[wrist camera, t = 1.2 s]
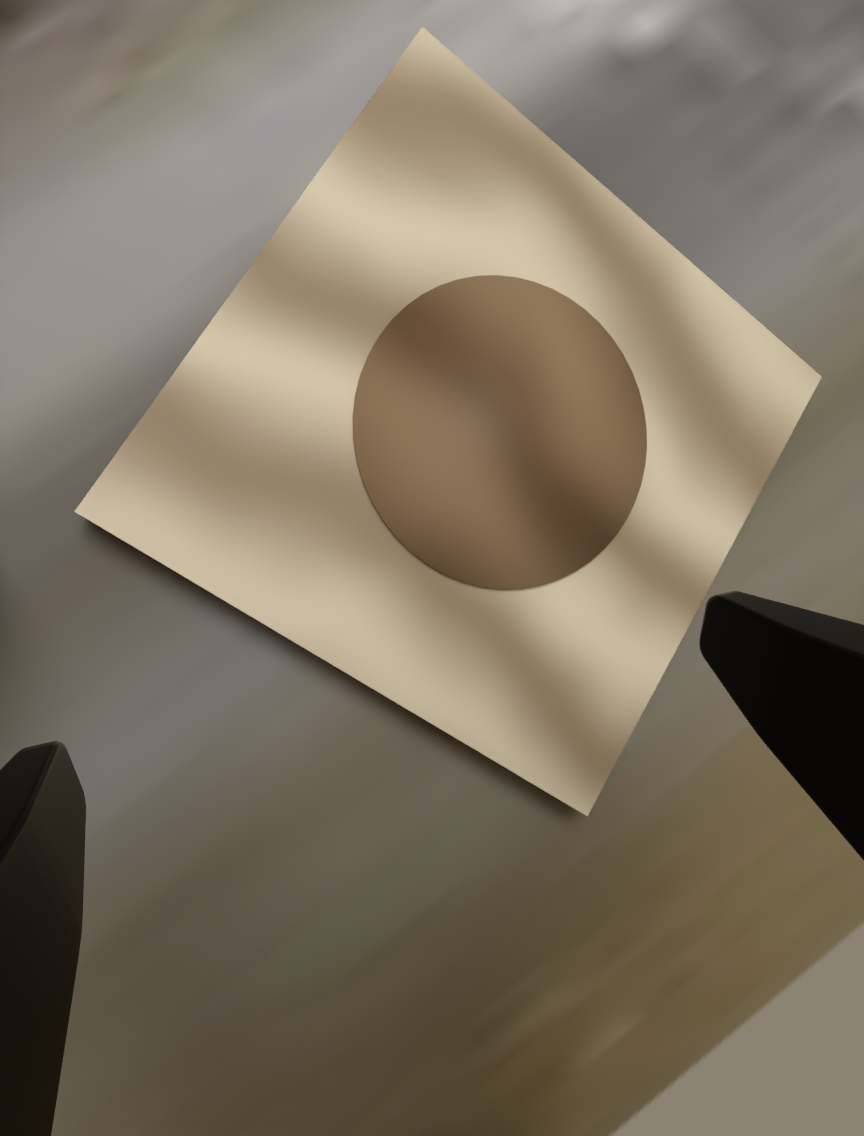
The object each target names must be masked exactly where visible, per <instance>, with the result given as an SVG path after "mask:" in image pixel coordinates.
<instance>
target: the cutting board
mask: <svg viewBox="0 0 864 1136" xmlns="http://www.w3.org/2000/svg"><path fill="white" fill-rule="evenodd" d="M820 379H821V376H820V375H819V374H818V373H817V372H816V371H814V370H813V369H812V368H811V367H810V366H809V365H808V364H806V363H805V362H804V361H803V360H802V359H801V358H800V357H798V356H797V355H796V354H795V353H794V352H793V351H792V350H790V349H789V348H788V347H787V346H786V345H785V344H784V343H782V342H781V341H780V340H779V339H778V338H777V337H776V336H775V335H773V334H772V333H771V332H770V331H769V330H768V329H767V328H765V327H764V326H763V325H762V324H761V323H760V322H759V321H757V320H756V319H755V318H754V317H753V316H752V315H751V314H749V313H748V312H747V311H746V310H745V309H744V308H743V307H741V306H740V305H739V304H738V303H737V302H736V301H735V300H733V299H732V298H731V297H730V296H729V295H728V294H727V293H725V292H724V291H723V290H722V289H721V288H720V287H719V286H717V285H716V284H715V283H714V282H713V281H712V280H711V279H709V278H708V277H707V276H706V275H705V274H704V273H703V272H701V271H700V270H699V269H698V268H697V267H696V266H695V265H694V264H692V263H691V262H690V261H689V260H688V259H687V258H686V257H684V256H683V255H682V254H681V253H680V252H679V251H678V250H676V249H675V248H674V247H673V246H672V245H671V244H670V243H668V242H667V241H666V240H665V239H664V238H663V237H662V236H660V235H659V234H658V233H657V232H656V231H655V230H654V229H652V228H651V227H650V226H649V225H648V224H647V223H646V222H644V221H643V220H642V219H641V218H640V217H639V216H638V215H636V214H635V213H634V212H633V211H632V210H631V209H630V208H628V207H627V206H626V205H625V204H624V203H623V202H622V201H620V200H619V199H618V198H617V197H616V196H615V195H614V194H613V193H611V192H610V191H609V190H608V189H607V188H606V187H605V186H603V185H602V184H601V183H600V182H599V181H598V180H597V179H595V178H594V177H593V176H592V175H591V174H590V173H589V172H587V171H586V170H585V169H584V168H583V167H582V166H581V165H579V164H578V163H577V162H576V161H575V160H574V159H573V158H571V157H570V156H569V155H568V154H567V153H566V152H565V151H563V150H562V149H561V148H560V147H559V146H558V145H557V144H555V143H554V142H553V141H552V140H551V139H550V138H549V137H547V136H546V135H545V134H544V133H543V132H542V131H541V130H539V129H538V128H537V127H536V126H535V125H534V124H533V123H532V122H530V121H529V120H528V119H527V118H526V117H525V116H524V115H522V114H521V113H520V112H519V111H518V110H517V109H516V108H514V107H513V106H512V105H511V104H510V103H509V102H508V101H506V100H505V99H504V98H503V97H502V96H501V95H500V94H498V93H497V92H496V91H495V90H494V89H493V88H492V87H490V86H489V85H488V84H487V83H486V82H485V81H484V80H482V79H481V78H480V77H479V76H478V75H477V74H476V73H474V72H473V71H472V70H471V69H470V68H469V67H468V66H466V65H465V64H464V63H463V62H462V61H461V60H460V59H458V58H457V57H456V56H455V55H454V54H453V53H452V52H451V51H449V50H448V49H447V48H446V47H445V46H444V45H443V44H441V43H440V42H439V41H438V40H437V39H436V38H435V37H433V36H432V35H431V34H430V33H429V32H428V31H427V30H425V29H424V28H423V27H422V28H421V29H420V31H419V32H418V33H417V35H416V36H415V38H414V39H413V40H412V42H411V43H410V45H409V46H408V47H407V49H406V50H405V52H404V53H403V54H402V56H401V57H400V59H399V60H398V61H397V63H396V64H395V66H394V67H393V68H392V70H391V71H390V72H389V74H388V75H387V77H386V78H385V79H384V81H383V82H382V84H381V85H380V86H379V88H378V89H377V91H376V92H375V93H374V95H373V96H372V98H371V99H370V100H369V102H368V103H367V105H366V106H365V107H364V109H363V110H362V112H361V113H360V114H359V116H358V117H357V118H356V120H355V121H354V123H353V124H352V125H351V127H350V128H349V130H348V131H347V132H346V134H345V135H344V137H343V138H342V139H341V141H340V142H339V144H338V145H337V146H336V148H335V149H334V151H333V152H332V153H331V155H330V156H329V158H328V159H327V160H326V162H325V163H324V164H323V166H322V167H321V169H320V170H319V171H318V173H317V174H316V176H315V177H314V178H313V180H312V181H311V183H310V184H309V185H308V187H307V188H306V190H305V191H304V192H303V194H302V195H301V197H300V198H299V199H298V201H297V202H296V204H295V205H294V206H293V208H292V209H291V210H290V212H289V213H288V215H287V216H286V217H285V219H284V220H283V222H282V223H281V224H280V226H279V227H278V229H277V230H276V231H275V233H274V234H273V236H272V237H271V238H270V240H269V241H268V243H267V244H266V245H265V247H264V248H263V250H262V251H261V252H260V254H259V255H258V256H257V258H256V259H255V261H254V262H253V263H252V265H251V266H250V268H249V269H248V270H247V272H246V273H245V275H244V276H243V277H242V279H241V280H240V282H239V283H238V284H237V286H236V287H235V289H234V290H233V291H232V293H231V294H230V296H229V297H228V298H227V300H226V301H225V302H224V304H223V305H222V307H221V308H220V309H219V311H218V312H217V314H216V315H215V316H214V318H213V319H212V321H211V322H210V323H209V325H208V326H207V328H206V329H205V330H204V332H203V333H202V335H201V336H200V337H199V339H198V340H197V342H196V343H195V344H194V346H193V347H192V348H191V350H190V351H189V353H188V354H187V355H186V357H185V358H184V360H183V361H182V362H181V364H180V365H179V367H178V368H177V369H176V371H175V372H174V374H173V375H172V376H171V378H170V379H169V381H168V382H167V383H166V385H165V386H164V388H163V389H162V390H161V392H160V393H159V394H158V396H157V397H156V399H155V400H154V401H153V403H152V404H151V406H150V407H149V408H148V410H147V411H146V413H145V414H144V415H143V417H142V418H141V420H140V421H139V422H138V424H137V425H136V427H135V428H134V429H133V431H132V432H131V434H130V435H129V436H128V438H127V439H126V440H125V442H124V443H123V445H122V446H121V447H120V449H119V450H118V452H117V453H116V454H115V456H114V457H113V459H112V460H111V461H110V463H109V464H108V466H107V467H106V468H105V470H104V471H103V473H102V474H101V475H100V477H99V478H98V480H97V481H96V482H95V484H94V485H93V486H92V488H91V489H90V491H89V492H88V493H87V495H86V496H85V498H84V499H83V500H82V502H81V503H80V505H79V506H78V507H77V509H76V510H75V512H76V513H78V514H79V515H81V516H83V517H84V518H86V519H88V520H89V521H91V522H93V523H94V524H96V525H98V526H99V527H101V528H103V529H105V530H106V531H108V532H110V533H111V534H113V535H115V536H116V537H118V538H120V539H121V540H123V541H125V542H126V543H128V544H130V545H131V546H133V547H135V548H137V549H138V550H140V551H142V552H143V553H145V554H147V555H148V556H150V557H152V558H153V559H155V560H157V561H158V562H160V563H162V564H163V565H165V566H167V567H168V568H170V569H172V570H174V571H175V572H177V573H179V574H180V575H182V576H184V577H185V578H187V579H189V580H190V581H192V582H194V583H195V584H197V585H199V586H200V587H202V588H204V589H206V590H207V591H209V592H211V593H212V594H214V595H216V596H217V597H219V598H221V599H222V600H224V601H226V602H227V603H229V604H231V605H232V606H234V607H236V608H237V609H239V610H241V611H243V612H244V613H246V614H248V615H249V616H251V617H253V618H254V619H256V620H258V621H259V622H261V623H263V624H264V625H266V626H268V627H269V628H271V629H273V630H275V631H276V632H278V633H280V634H281V635H283V636H285V637H286V638H288V639H290V640H291V641H293V642H295V643H296V644H298V645H300V646H301V647H303V648H305V649H306V650H308V651H310V652H312V653H313V654H315V655H317V656H318V657H320V658H322V659H323V660H325V661H327V662H328V663H330V664H332V665H333V666H335V667H337V668H338V669H340V670H342V671H343V672H345V673H347V674H349V675H350V676H352V677H354V678H355V679H357V680H359V681H360V682H362V683H364V684H365V685H367V686H369V687H370V688H372V689H374V690H375V691H377V692H379V693H381V694H382V695H384V696H386V697H387V698H389V699H391V700H392V701H394V702H396V703H397V704H399V705H401V706H402V707H404V708H406V709H407V710H409V711H411V712H412V713H414V714H416V715H418V716H419V717H421V718H423V719H424V720H426V721H428V722H429V723H431V724H433V725H434V726H436V727H438V728H439V729H441V730H443V731H444V732H446V733H448V734H450V735H451V736H453V737H455V738H456V739H458V740H460V741H461V742H463V743H465V744H466V745H468V746H470V747H471V748H473V749H475V750H476V751H478V752H480V753H481V754H483V755H485V756H487V757H488V758H490V759H492V760H493V761H495V762H497V763H498V764H500V765H502V766H503V767H505V768H507V769H508V770H510V771H512V772H513V773H515V774H517V775H519V776H520V777H522V778H524V779H525V780H527V781H529V782H530V783H532V784H534V785H535V786H537V787H539V788H540V789H542V790H544V791H545V792H547V793H549V794H550V795H552V796H554V797H556V798H557V799H559V800H561V801H562V802H564V803H566V804H567V805H569V806H571V807H572V808H574V809H576V810H577V811H579V812H581V813H582V814H584V815H586V816H588V814H589V812H590V811H591V809H592V807H593V805H594V803H595V801H596V799H597V797H598V796H599V794H600V792H601V790H602V788H603V786H604V784H605V782H606V781H607V779H608V777H609V775H610V773H611V771H612V769H613V767H614V766H615V764H616V762H617V760H618V758H619V756H620V754H621V752H622V751H623V749H624V747H625V745H626V743H627V741H628V739H629V737H630V736H631V734H632V732H633V730H634V728H635V726H636V724H637V722H638V721H639V719H640V717H641V715H642V713H643V711H644V709H645V707H646V706H647V704H648V702H649V700H650V698H651V696H652V694H653V692H654V691H655V689H656V687H657V685H658V683H659V681H660V679H661V677H662V675H663V674H664V672H665V670H666V668H667V666H668V664H669V662H670V660H671V659H672V657H673V655H674V653H675V651H676V649H677V647H678V645H679V644H680V642H681V640H682V638H683V636H684V634H685V632H686V630H687V629H688V627H689V625H690V623H691V621H692V619H693V617H694V615H695V614H696V612H697V610H698V608H699V606H700V604H701V602H702V600H703V599H704V597H705V595H706V593H707V591H708V589H709V587H710V585H711V584H712V582H713V580H714V578H715V576H716V574H717V572H718V570H719V569H720V567H721V565H722V563H723V561H724V559H725V557H726V555H727V554H728V552H729V550H730V548H731V546H732V544H733V542H734V540H735V539H736V537H737V535H738V533H739V531H740V529H741V527H742V525H743V524H744V522H745V520H746V518H747V516H748V514H749V512H750V510H751V509H752V507H753V505H754V503H755V501H756V499H757V497H758V495H759V494H760V492H761V490H762V488H763V486H764V484H765V482H766V480H767V479H768V477H769V475H770V473H771V471H772V469H773V467H774V465H775V464H776V462H777V460H778V458H779V456H780V454H781V452H782V450H783V449H784V447H785V445H786V443H787V441H788V439H789V437H790V435H791V434H792V432H793V430H794V428H795V426H796V424H797V422H798V420H799V419H800V417H801V415H802V413H803V411H804V409H805V407H806V405H807V404H808V402H809V400H810V398H811V396H812V394H813V392H814V390H815V389H816V387H817V385H818V383H819V381H820Z"/></svg>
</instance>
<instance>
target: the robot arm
mask: <svg viewBox="0 0 864 1136" xmlns="http://www.w3.org/2000/svg"><path fill="white" fill-rule="evenodd" d="M699 646H700V650H701V653H702V655H703V657H704V659H705V660H706V661H707V663H708V664H709V666H710V667H711V669H712V670H713V671H714V673H715V674H716V676H717V677H718V679H719V680H720V682H721V683H722V684H723V686H724V687H725V689H726V690H727V692H728V693H729V694H730V696H731V697H732V699H733V700H734V702H735V703H736V705H737V706H738V707H739V709H740V710H741V712H742V713H743V715H744V716H745V717H746V719H747V720H748V722H749V723H750V725H751V726H752V727H753V729H754V730H755V731H756V733H757V734H758V735H759V737H760V738H761V739H762V740H763V742H764V743H765V744H766V745H767V747H768V748H769V749H770V750H771V751H772V753H773V754H774V755H775V756H776V757H777V758H778V760H779V761H780V762H781V763H782V764H783V766H784V767H785V768H786V769H787V770H788V771H789V773H790V774H791V775H792V776H793V777H794V779H795V780H796V781H797V782H798V783H799V784H800V786H801V787H802V788H803V789H804V790H805V792H806V793H807V794H808V795H809V796H810V797H811V799H812V800H813V801H814V802H815V803H816V805H817V806H818V807H819V808H820V809H821V810H822V812H823V813H824V814H825V815H826V816H827V818H828V819H829V820H830V821H831V822H832V823H833V825H834V826H835V827H836V828H837V829H838V831H839V832H840V833H841V834H842V835H843V836H844V838H845V839H846V840H847V841H848V842H849V844H850V845H851V846H852V847H853V848H854V849H855V851H856V852H857V853H858V854H859V855H860V857H861V858H862V859H863V860H864V625H862V624H858V623H854V622H851V621H847V620H843V619H840V618H836V617H832V616H828V615H825V614H821V613H817V612H813V611H810V610H806V609H802V608H798V607H795V606H791V605H787V604H784V603H780V602H776V601H772V600H769V599H765V598H761V597H757V596H754V595H750V594H746V593H742V592H738V591H732V592H727V593H723V594H718V595H714V596H713V597H711V598H710V599H709V600H708V602H707V604H706V608H705V613H704V618H703V623H702V629H701V634H700V639H699ZM85 823H86V803H85V796H84V792H83V789H82V786H81V784H80V781H79V779H78V776H77V774H76V771H75V769H74V766H73V764H72V761H71V759H70V756H69V754H68V751H67V749H66V747H65V746H64V745H63V744H62V743H61V742H58V741H53V742H49V743H44V744H40V745H35V746H30V747H27V748H24V749H22V750H20V751H19V752H18V753H17V754H16V755H15V756H14V757H13V758H12V759H11V760H10V761H9V762H8V763H7V764H6V765H5V766H4V767H3V768H2V769H1V770H0V1136H51V1132H52V1126H53V1119H54V1113H55V1106H56V1100H57V1093H58V1087H59V1080H60V1074H61V1067H62V1061H63V1054H64V1048H65V1041H66V1035H67V1028H68V1022H69V1015H70V1009H71V1002H72V996H73V989H74V983H75V976H76V970H77V964H78V957H79V950H80V942H81V933H82V917H83V888H84V855H85Z"/></svg>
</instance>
